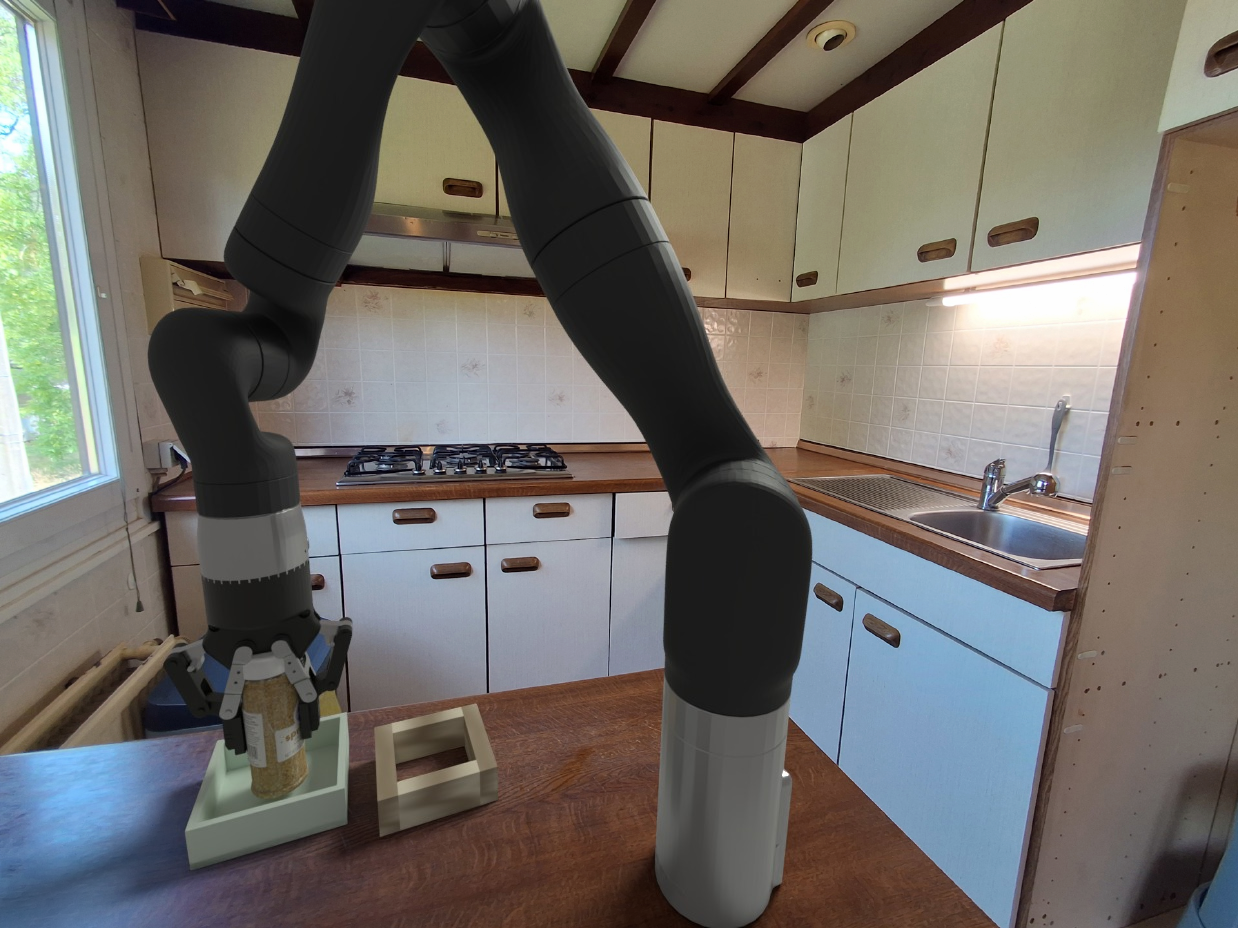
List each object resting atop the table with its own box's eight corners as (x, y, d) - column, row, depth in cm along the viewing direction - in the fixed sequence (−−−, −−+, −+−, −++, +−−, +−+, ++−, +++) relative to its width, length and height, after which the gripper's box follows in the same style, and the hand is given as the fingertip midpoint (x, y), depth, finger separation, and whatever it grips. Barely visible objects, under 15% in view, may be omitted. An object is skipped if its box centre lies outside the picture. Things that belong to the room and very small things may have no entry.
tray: (349, 742, 57) (346, 711, 56) (347, 823, 47) (344, 787, 47) (221, 773, 53) (217, 740, 52) (190, 870, 43) (184, 831, 42)
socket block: (477, 732, 59) (476, 703, 59) (498, 799, 50) (497, 766, 50) (376, 758, 55) (374, 727, 54) (379, 836, 46) (377, 801, 46)
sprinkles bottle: (311, 787, 49) (298, 650, 46) (250, 809, 47) (232, 665, 44) (307, 756, 53) (294, 627, 50) (250, 775, 50) (234, 640, 48)
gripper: (130, 590, 39) (162, 796, 42) (351, 563, 45) (365, 745, 48) (163, 555, 46) (188, 735, 49) (352, 535, 52) (364, 697, 55)
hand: (276, 739), depth 49 cm, fingers closed on sprinkles bottle, 4 cm apart
